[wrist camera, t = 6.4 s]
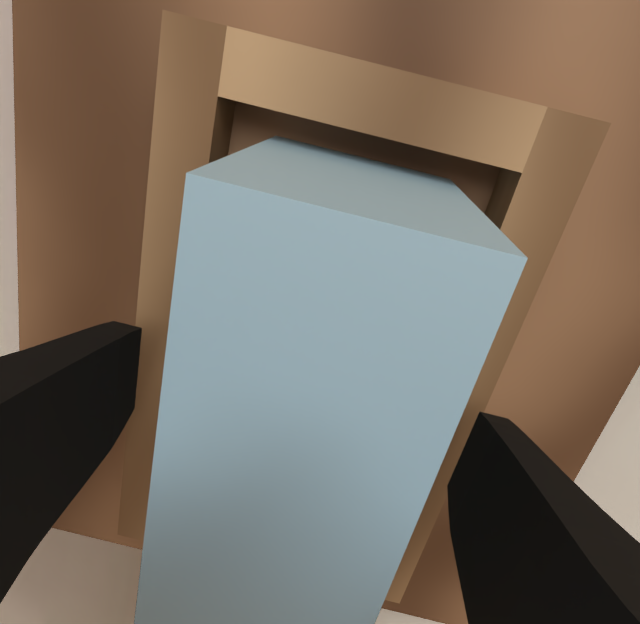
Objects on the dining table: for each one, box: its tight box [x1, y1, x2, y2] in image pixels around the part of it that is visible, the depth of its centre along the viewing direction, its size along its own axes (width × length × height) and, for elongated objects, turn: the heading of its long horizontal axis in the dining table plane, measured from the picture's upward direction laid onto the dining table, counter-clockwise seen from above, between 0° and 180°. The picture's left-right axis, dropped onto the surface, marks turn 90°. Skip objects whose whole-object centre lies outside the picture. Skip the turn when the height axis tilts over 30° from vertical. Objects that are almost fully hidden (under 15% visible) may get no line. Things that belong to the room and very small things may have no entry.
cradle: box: [12, 0, 640, 624], centre depth 13 cm, size 16×18×2 cm
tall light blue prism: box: [134, 136, 528, 624], centre depth 10 cm, size 4×9×6 cm, turn 167°
